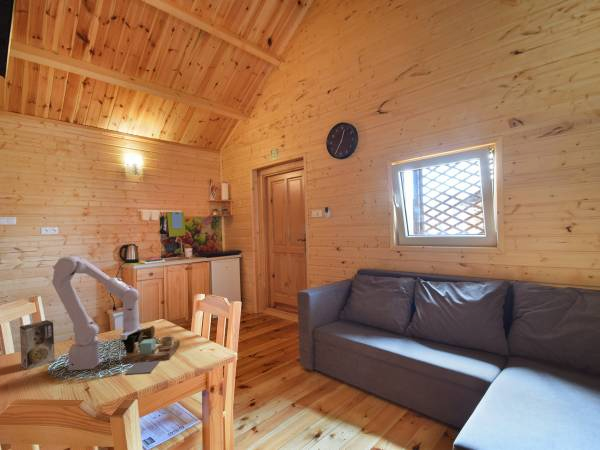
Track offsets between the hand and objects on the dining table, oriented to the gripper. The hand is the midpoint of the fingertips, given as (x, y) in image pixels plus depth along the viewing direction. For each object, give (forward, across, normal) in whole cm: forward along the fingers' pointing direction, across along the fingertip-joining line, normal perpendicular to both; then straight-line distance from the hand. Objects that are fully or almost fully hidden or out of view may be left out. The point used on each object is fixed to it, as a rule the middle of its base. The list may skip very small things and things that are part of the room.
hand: (131, 350), depth 126 cm
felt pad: (+3, -10, -8) cm, 14 cm away
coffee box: (+3, +1, +37) cm, 37 cm away
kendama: (+3, +20, +5) cm, 21 cm away
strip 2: (+2, +6, -9) cm, 11 cm away
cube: (+1, 0, -6) cm, 6 cm away
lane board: (+3, +3, -7) cm, 8 cm away
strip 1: (+2, 0, -4) cm, 4 cm away
